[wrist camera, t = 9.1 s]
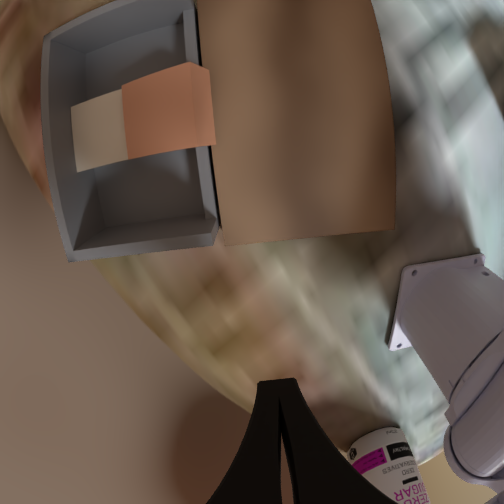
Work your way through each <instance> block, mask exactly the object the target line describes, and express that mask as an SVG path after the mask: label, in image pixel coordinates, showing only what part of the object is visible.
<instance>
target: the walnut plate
mask: <svg viewBox="0 0 504 504" xmlns="http://www.w3.org/2000/svg"><path fill="white" fill-rule="evenodd" d="M197 9H198V22H199V34H200V45H201V56H202V67H204V68H206V69H208V70H209V73H210V85H211V96H212V107H213V117H214V127H215V137H216V145H211V149H212V157H213V165H214V172H215V180H216V188H217V195H218V203H219V210H220V217H221V224H222V231H223V238H224V245H225V246H232V245H241V244H251V243H261V242H271V241H280V240H290V239H300V238H310V237H321V236H331V235H341V234H352V233H362V232H373V231H384V230H395V209H396V157H395V137H394V123H393V112H392V103H391V95H390V87H389V80H388V74H387V68H386V62H385V57H384V52H383V47H382V42H381V37H380V33H379V29H378V25H377V21H376V17H375V13H374V10H373V6H372V3H371V0H197Z"/></svg>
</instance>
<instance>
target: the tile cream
mask: <svg viewBox="0 0 504 504" xmlns="http://www.w3.org/2000/svg"><path fill="white" fill-rule="evenodd" d="M71 122H72V134H73V144H74V153H75V161H76V168H77V172H81V171H86V170H90V169H94V168H98V167H102V166H106V165H110V164H114V163H118V162H122V161H127V160H128V154H127V146H126V137H125V127H124V116H123V103H122V89H120V90H116V91H113V92H110V93H107V94H104V95H101V96H99V97H96V98H93V99H90V100H88V101H85V102H82V103H80V104H77V105H75V106H72V107H71ZM134 159H136V158H134ZM129 160H131V159H129Z"/></svg>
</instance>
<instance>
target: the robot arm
mask: <svg viewBox="0 0 504 504" xmlns="http://www.w3.org/2000/svg"><path fill="white" fill-rule="evenodd" d="M484 263H485V255H484V254H475V255H470V256H464V257H458V258H453V259H447V260H441V261H435V262H428V263H422V264H416V265H409V266H406V267H405V268H404V269H403V270H402V274H401V281H400V288H399V294H398V300H397V305H396V311H395V316H394V321H393V326H392V330H391V335H390V339H389V343H388V348H389V350H390V351H394V350H398V349H402V348H406V347H410V346H413V348H414V349H415V351H416V352H417V354H418V355H419V357H420V358H421V360H422V361H423V363H424V364H425V366H426V367H427V369H428V370H429V372H430V373H431V375H432V377H433V378H434V380H435V381H436V383H437V385H438V386H439V388H440V389H441V391H442V393H443V394H444V396H445V398H446V399H447V401H448V403H449V404H450V406H449V408H448V410H447V411H446V412H445V416H446V418H447V420H448V422H449V424H450V425H449V426H448V428H447V430H446V432H445V435H444V452H445V456H446V459H447V462H448V464H449V466H450V467H451V469H452V470H453V472H454V473H455V474H456V475H457V476H458V477H459V478H461V479H462V480H464V481H466V482H468V483H471V484H481V485H485V486H488V487H489V488H491V489H492V490H494V491H495V492H497V493H498V494H497V495H496V496H494V497H493V498H492V499H490V500H489V501H488V502H486V503H485V504H504V280H503V279H502V278H500V277H499V276H497V275H496V274H495V273H493V272H492V271H491V270H489V269H488V268H486V267H485V266H484ZM414 270H415V272H414V273H413V274H412V272H413V271H414ZM281 434H282V439H283V444H284V448H285V453H286V458H287V463H288V467H289V472H290V477H291V483H292V490H293V500H294V504H398V503H397V502H395V501H394V500H392V499H391V498H389V497H388V496H386V495H385V494H384V493H382V492H381V491H380V490H378V489H377V488H376V487H375V486H374V485H372V484H371V483H370V482H369V481H368V480H367V479H366V478H364V477H363V476H362V475H361V474H360V473H359V472H358V471H357V470H356V469H355V468H354V467H353V466H352V465H351V464H350V463H349V462H348V461H347V460H346V459H345V458H344V456H343V455H342V454H341V453H340V452H339V451H338V449H337V448H336V447H335V446H334V444H333V443H332V442H331V441H330V439H329V438H328V436H327V435H326V434H325V432H324V431H323V429H322V428H321V427H320V425H319V423H318V422H317V420H316V419H315V417H314V415H313V414H312V412H311V410H310V409H309V407H308V405H307V403H306V401H305V399H304V397H303V395H302V393H301V391H300V388H299V386H298V383H297V380H296V379H295V378H286V379H277V380H267V381H260V382H259V383H257V394H256V399H255V404H254V408H253V412H252V415H251V418H250V421H249V424H248V427H247V431H246V433H245V436H244V438H243V441H242V443H241V445H240V448H239V450H238V452H237V454H236V456H235V458H234V460H233V462H232V464H231V466H230V468H229V470H228V471H227V473H226V475H225V477H224V478H223V480H222V481H221V483H220V485H219V486H218V488H217V489H216V491H215V492H214V494H213V495H212V496H211V498H210V499H209V500H208V502H207V503H206V504H282V496H281Z"/></svg>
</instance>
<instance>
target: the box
mask: <svg viewBox="0 0 504 504" xmlns="http://www.w3.org/2000/svg"><path fill="white" fill-rule="evenodd" d="M187 62H192V63H194V64H197V65H199V66H201V67H202V56H201V45H200V34H199V22H198V11H197V9H196V7H195V4H194V2H193V0H116V1H113V2H111V3H108V4H106V5H103V6H101V7H99V8H96V9H94V10H92V11H90V12H88V13H85V14H83V15H81V16H79V17H77V18H75V19H73V20H71V21H70V22H68V23H66V24H64V25H62V26H60V27H59V28H57V29H55V30H53V31H52V32H50V33H48V34H47V35H45V36H44V39H43V48H42V61H41V121H42V135H43V145H44V154H45V162H46V168H47V175H48V181H49V187H50V192H51V197H52V202H53V206H54V211H55V215H56V219H57V223H58V227H59V231H60V235H61V238H62V242H63V246H64V249H65V252H66V256H67V259H68V262H75V261H83V260H91V259H100V258H108V257H116V256H125V255H133V254H142V253H151V252H160V251H168V250H177V249H186V248H196V247H205V246H213V244H214V241H215V238H216V235H217V232H218V229H219V226H220V223H221V217H220V210H219V203H218V195H217V188H216V180H215V172H214V165H213V157H212V149H211V146H203V147H197V148H190V149H184V150H178V151H172V152H166V153H161V154H156V155H151V156H145V157H140V158H136V159H131V160H127V161H122V162H118V163H114V164H110V165H106V166H102V167H98V168H94V169H90V170H86V171H81V172H77V168H76V161H75V153H74V144H73V134H72V122H71V107H72V106H75V105H77V104H80V103H82V102H85V101H88V100H90V99H93V98H96V97H99V96H101V95H104V94H107V93H110V92H113V91H116V90H120V89H122V85H124V84H127V83H129V82H131V81H134V80H136V79H139V78H142V77H144V76H147V75H150V74H153V73H155V72H158V71H161V70H164V69H167V68H170V67H174V66H177V65H180V64H183V63H187Z"/></svg>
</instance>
